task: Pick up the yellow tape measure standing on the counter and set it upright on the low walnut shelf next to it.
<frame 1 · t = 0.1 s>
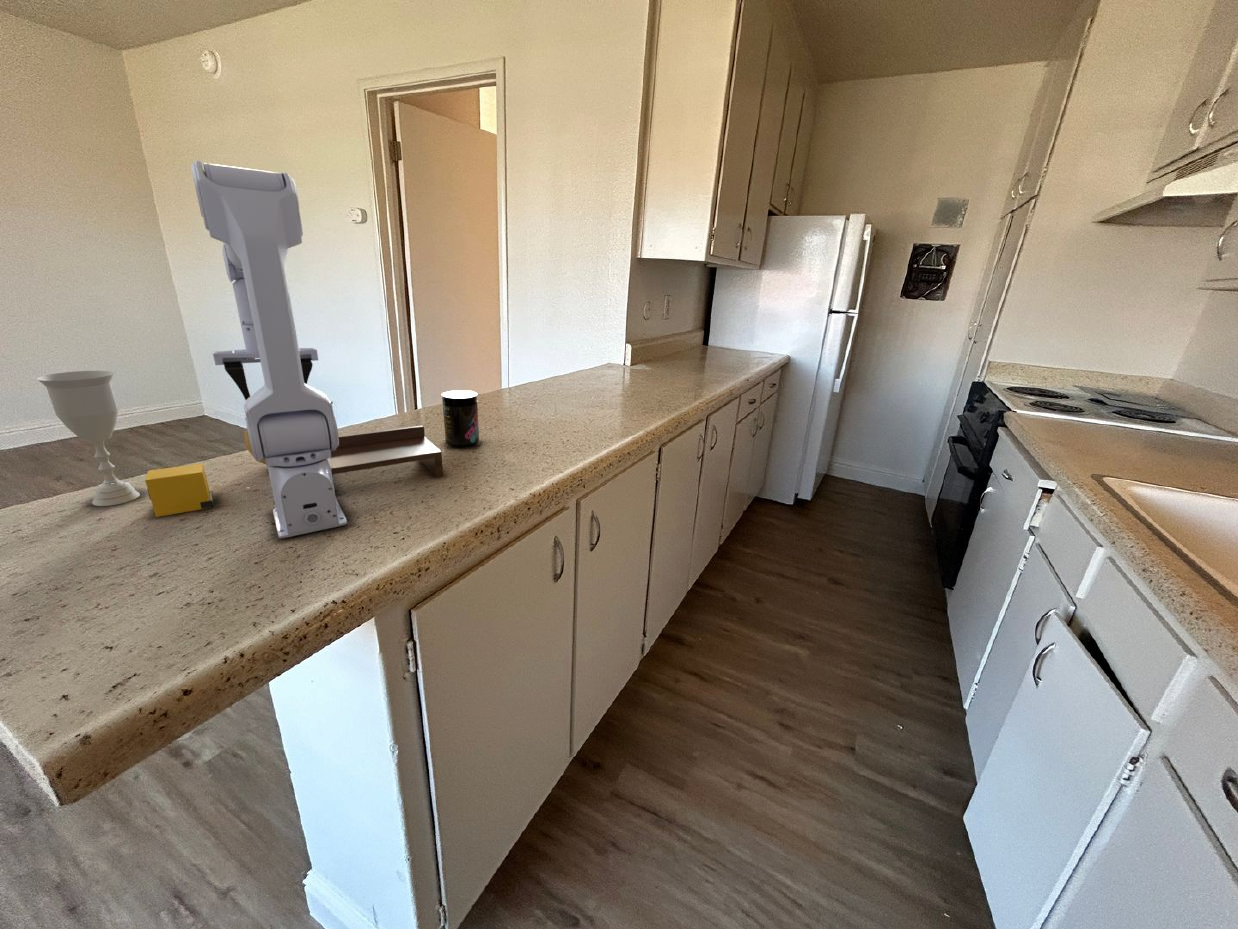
hand: (277, 403, 89), 10 cm above the countertop, tool pointing down, fingers open, 7 cm apart
shelf: (381, 475, 87), on the countertop
supplement container: (462, 444, 105), on the countertop
tape measure: (185, 507, 73), on the countertop
potato: (291, 468, 88), on the countertop
chalice: (116, 499, 74), on the countertop
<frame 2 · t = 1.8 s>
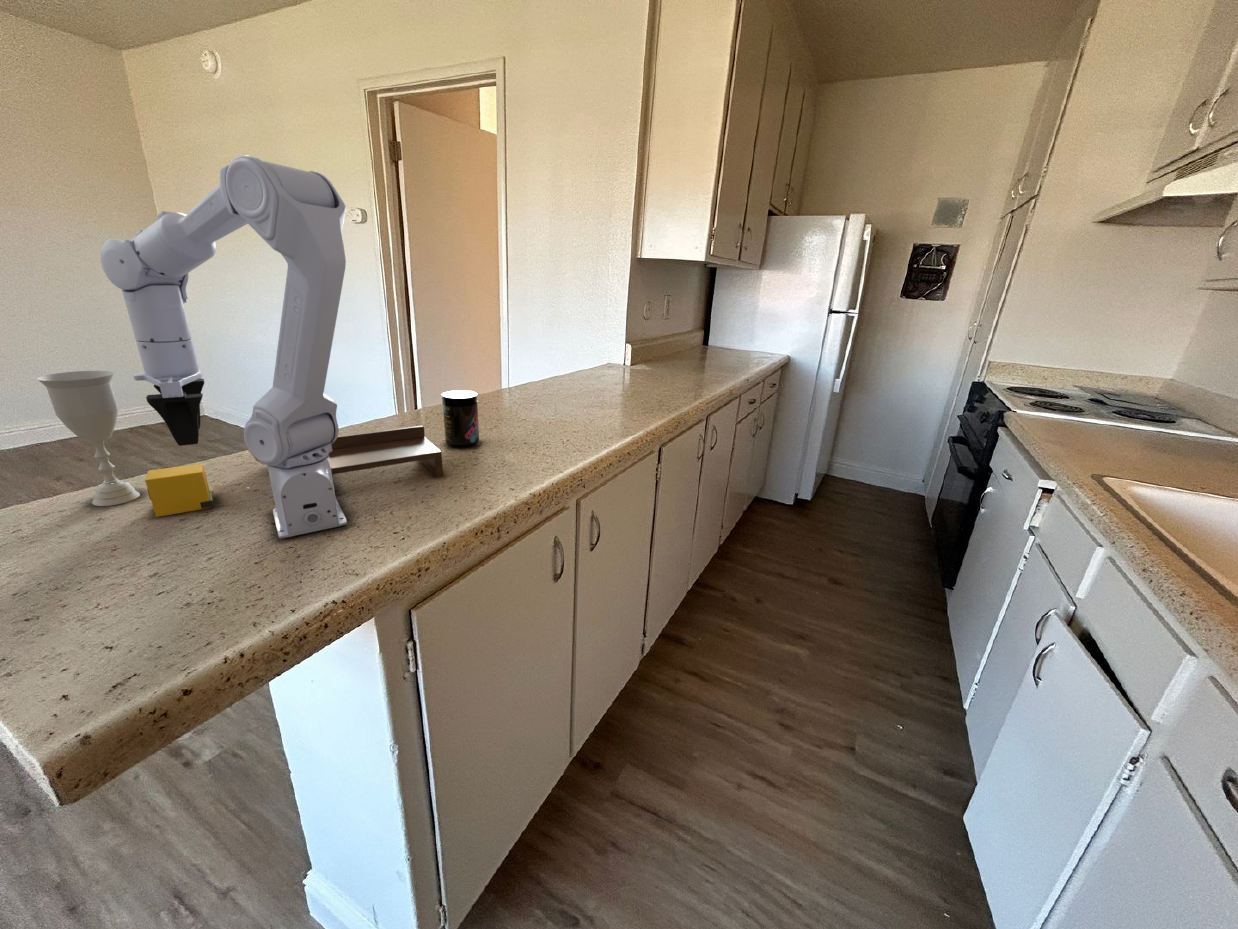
hand: (189, 436, 73), 9 cm above the countertop, tool pointing down, fingers open, 7 cm apart
nothing on the countertop moved.
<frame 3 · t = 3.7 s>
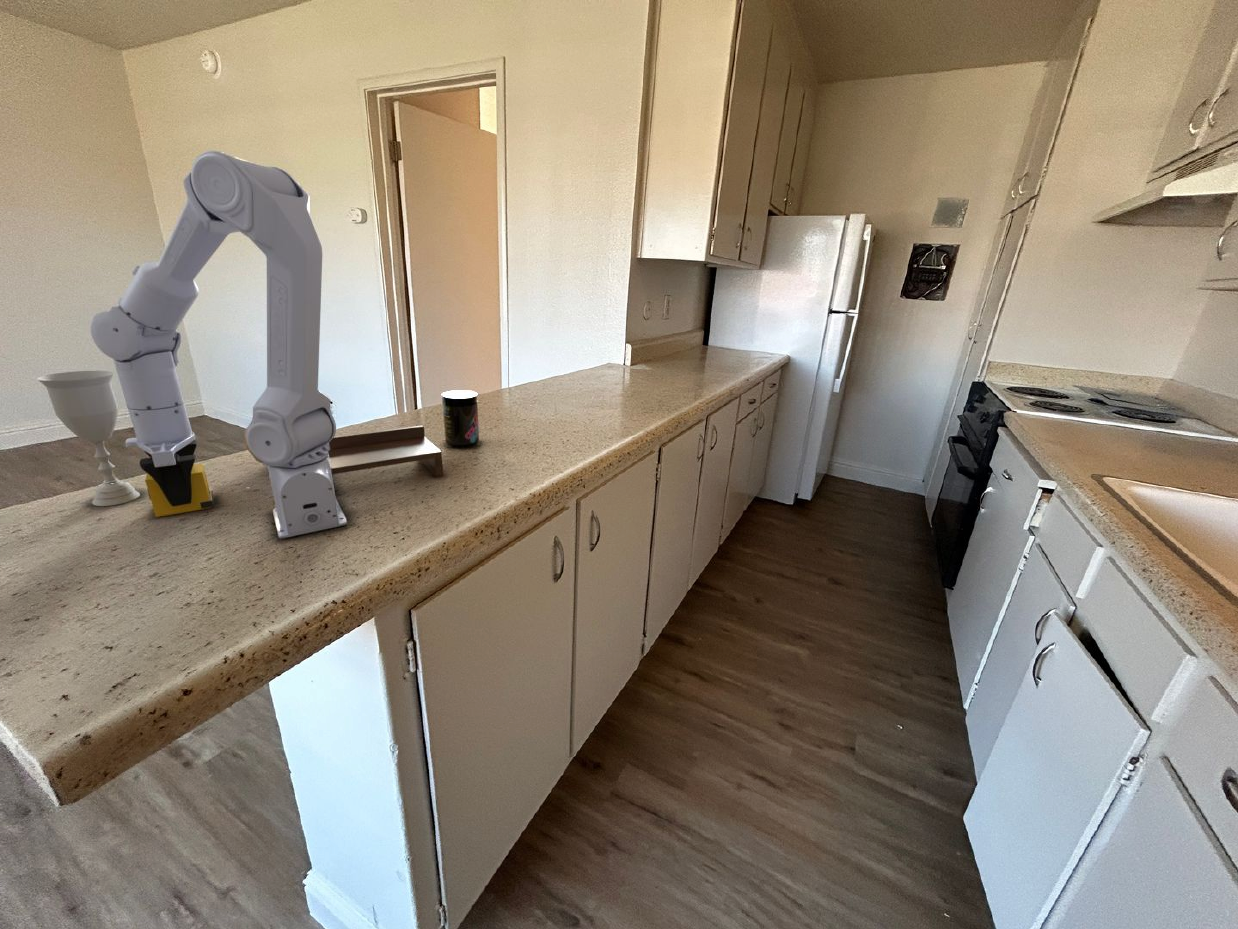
hand: (182, 498, 72), 1 cm above the countertop, tool pointing down, fingers closed on tape measure, 4 cm apart
tape measure: (184, 507, 73), on the countertop, touching gripper
everything else where it was.
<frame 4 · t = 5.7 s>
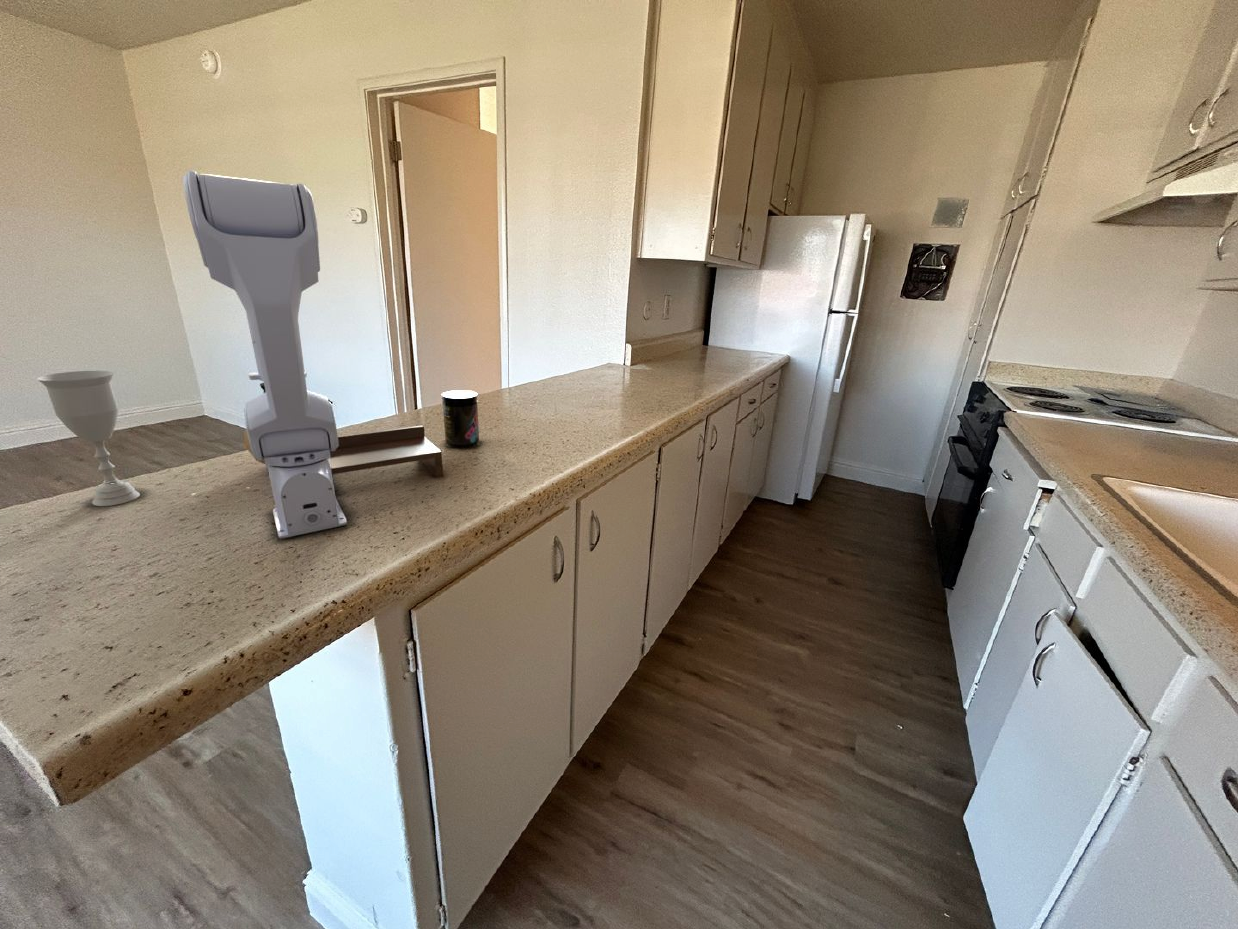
hand: (292, 431, 78), 9 cm above the countertop, tool pointing down, fingers closed on tape measure, 4 cm apart
tape measure: (294, 440, 78), point 8 cm above the countertop, touching gripper
everything else where it was.
when the fingers open (6 cm above the countertop, at t = 7.9 s): tape measure stays where it is, resting on shelf.
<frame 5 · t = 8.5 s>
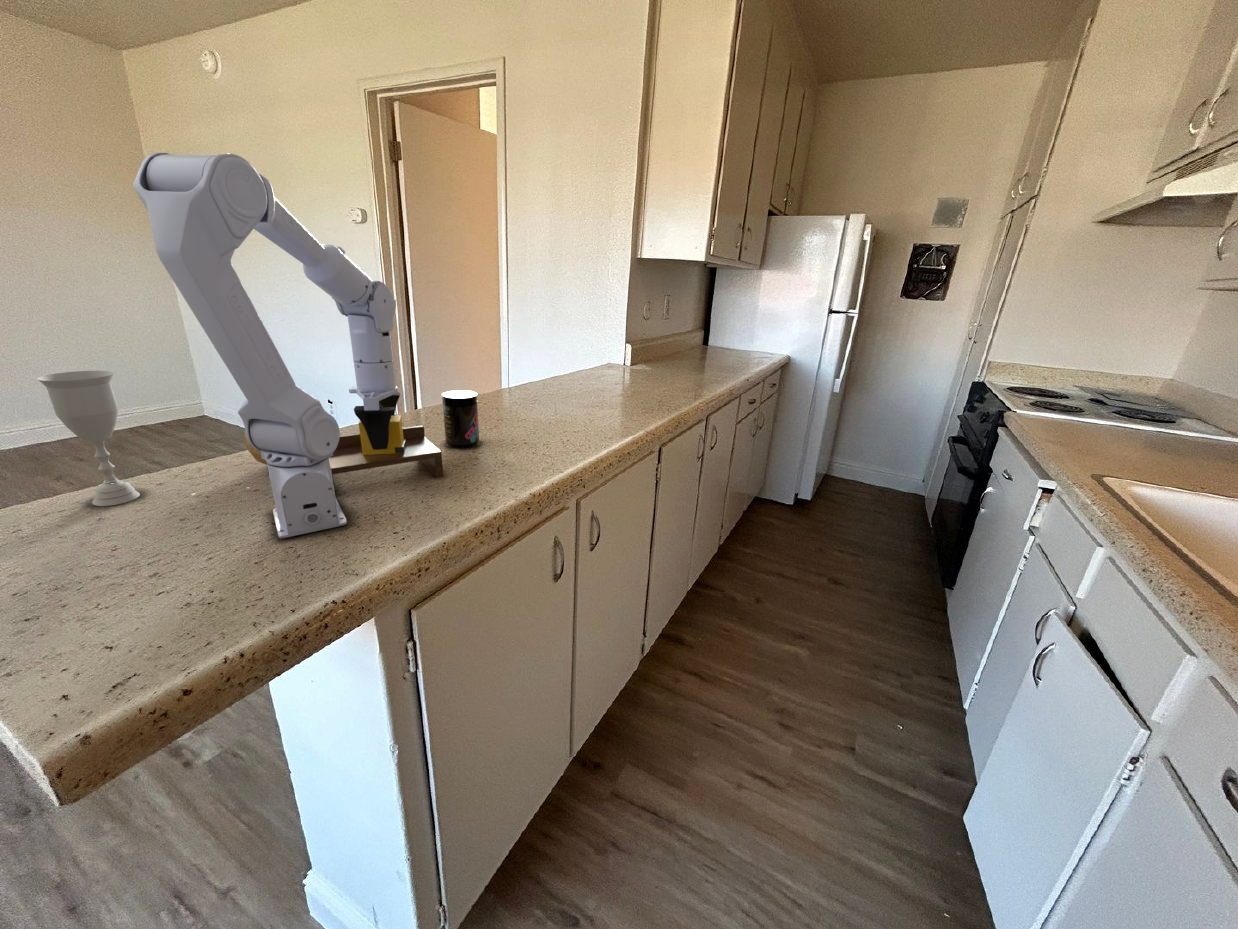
hand: (383, 441, 85), 6 cm above the countertop, tool pointing down, fingers open, 7 cm apart
tape measure: (384, 450, 86), point 4 cm above the countertop, touching shelf
everything else where it was.
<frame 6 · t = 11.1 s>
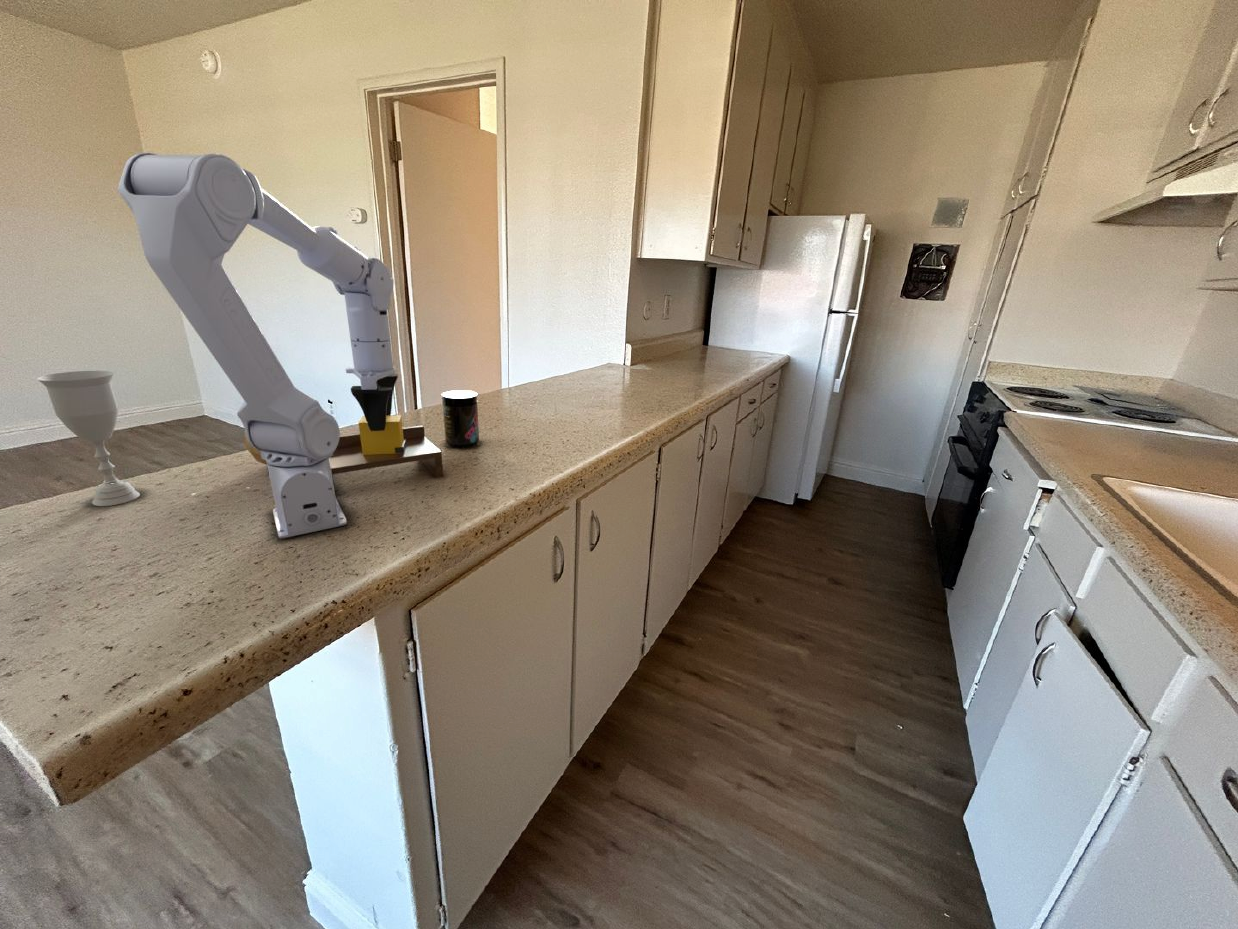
hand: (380, 423, 84), 9 cm above the countertop, tool pointing down, fingers open, 7 cm apart
nothing on the countertop moved.
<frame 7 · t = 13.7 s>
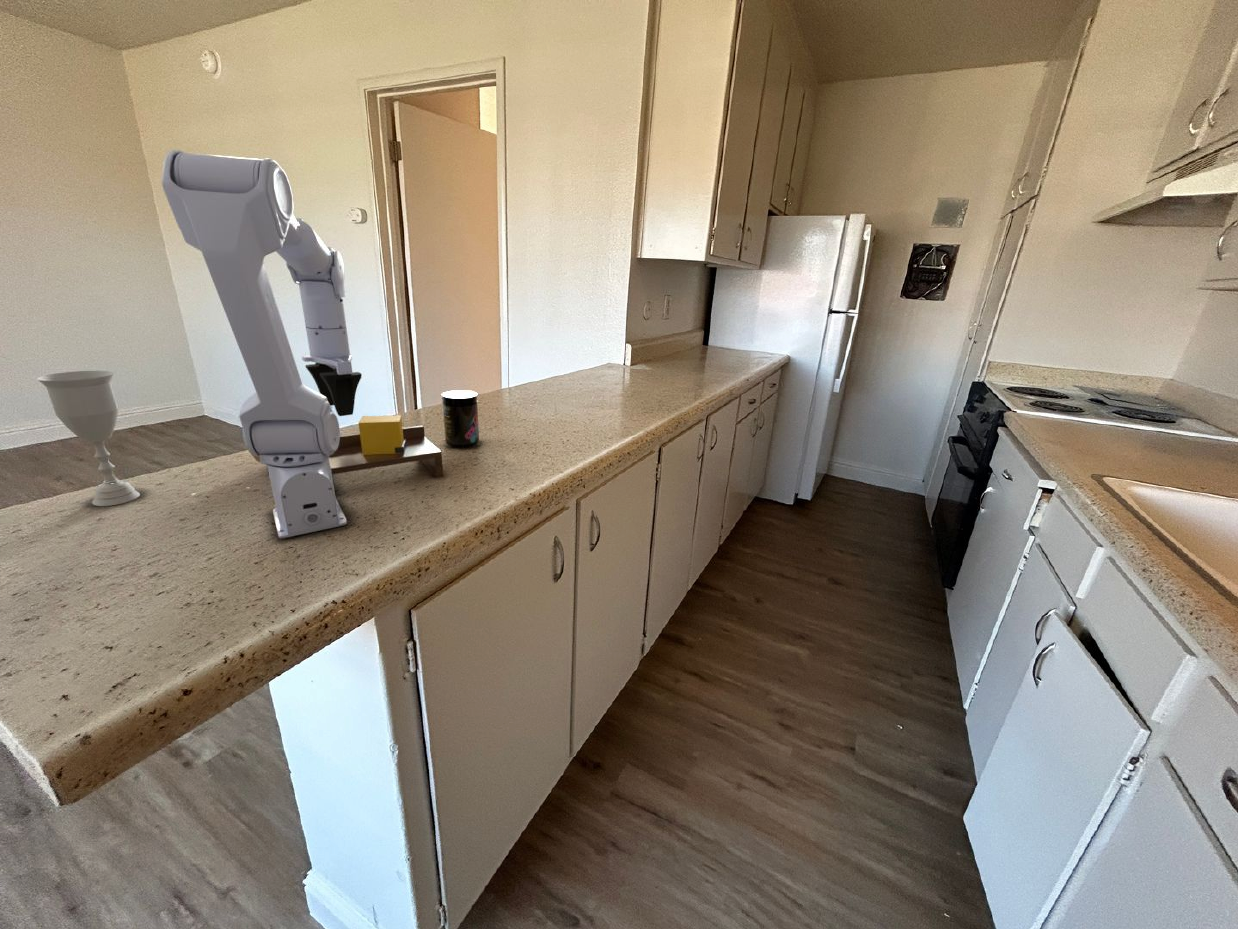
hand: (338, 409, 86), 10 cm above the countertop, tool pointing down, fingers open, 7 cm apart
nothing on the countertop moved.
at the end: tape measure inside the target area on the shelf (1.0 cm from its centre), point 4.5 cm above the shelf's base; tape measure tilted 0°; the gripper is holding nothing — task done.
